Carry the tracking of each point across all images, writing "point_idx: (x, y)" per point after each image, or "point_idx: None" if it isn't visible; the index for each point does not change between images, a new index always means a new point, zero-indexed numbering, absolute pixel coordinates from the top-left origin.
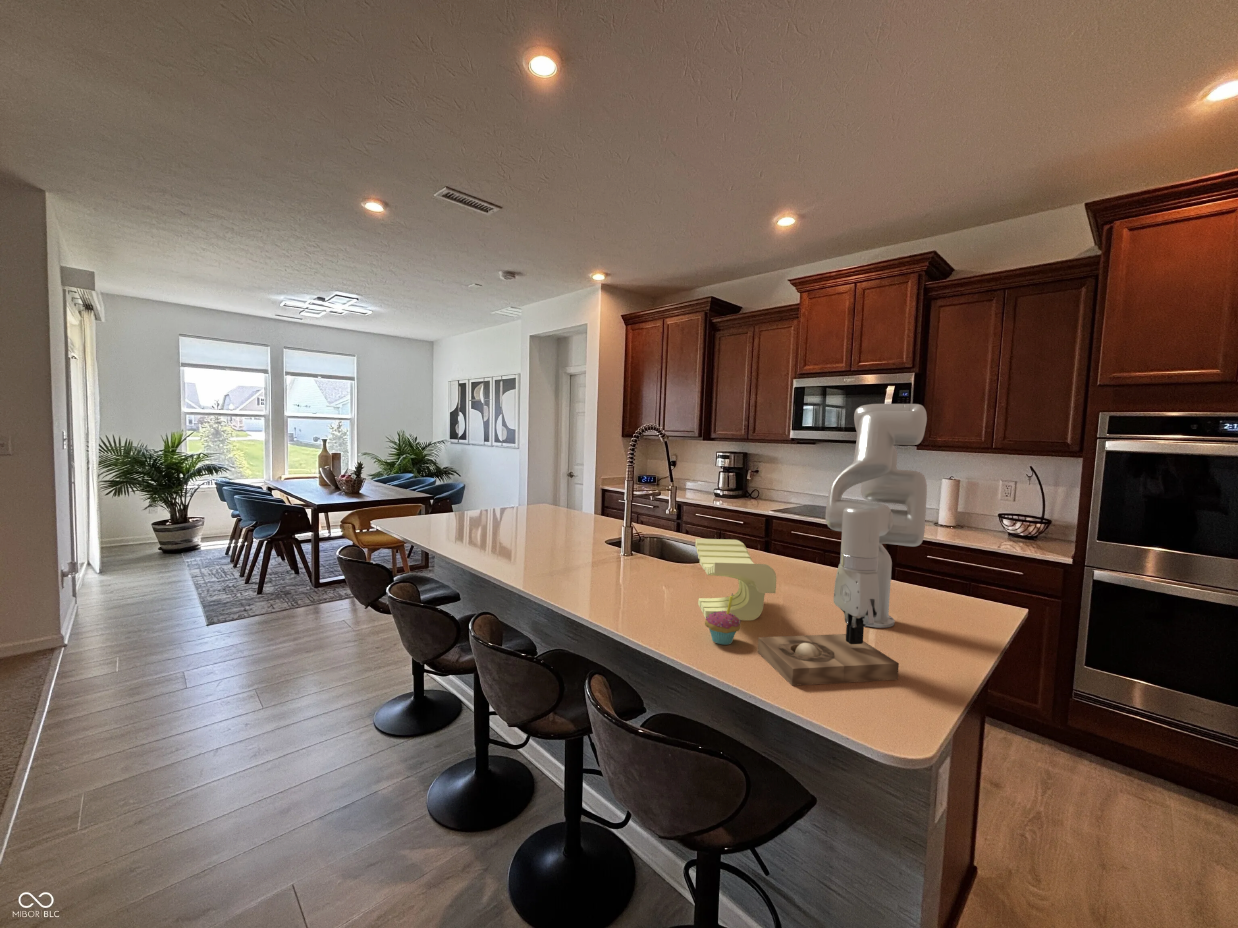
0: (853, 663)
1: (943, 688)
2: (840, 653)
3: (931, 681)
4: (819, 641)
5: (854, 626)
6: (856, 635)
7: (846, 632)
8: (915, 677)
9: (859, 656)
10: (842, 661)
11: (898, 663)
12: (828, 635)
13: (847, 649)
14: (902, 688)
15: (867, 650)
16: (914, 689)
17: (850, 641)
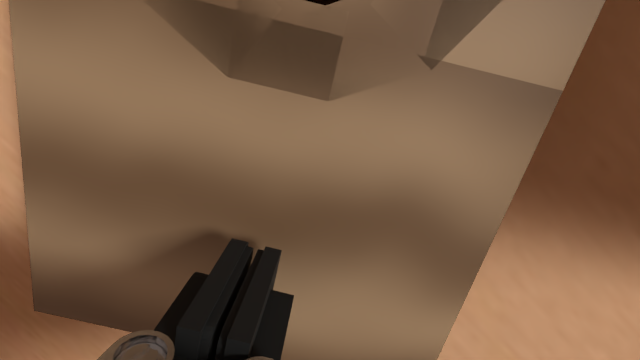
0: (43, 62)
1: (13, 343)
2: (200, 106)
3: (65, 353)
4: (417, 124)
5: (120, 341)
6: (177, 302)
7: (263, 285)
8: (101, 332)
9: (138, 189)
10: (79, 7)
11: (35, 307)
12: (465, 263)
13: (244, 203)
14: (17, 212)
15: None
16: (8, 248)
17: (228, 248)
